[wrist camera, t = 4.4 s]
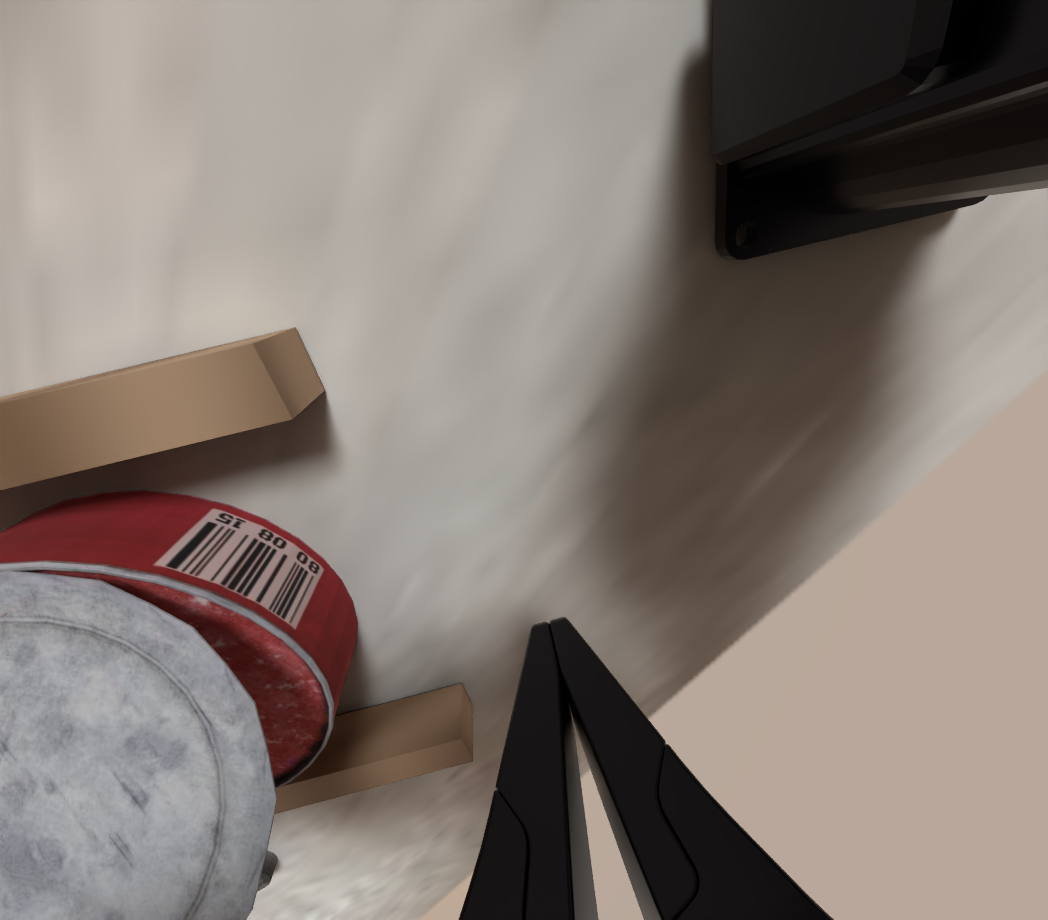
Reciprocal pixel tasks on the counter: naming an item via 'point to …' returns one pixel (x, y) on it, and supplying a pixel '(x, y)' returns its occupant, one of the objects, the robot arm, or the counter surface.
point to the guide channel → (202, 414)
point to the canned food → (156, 702)
